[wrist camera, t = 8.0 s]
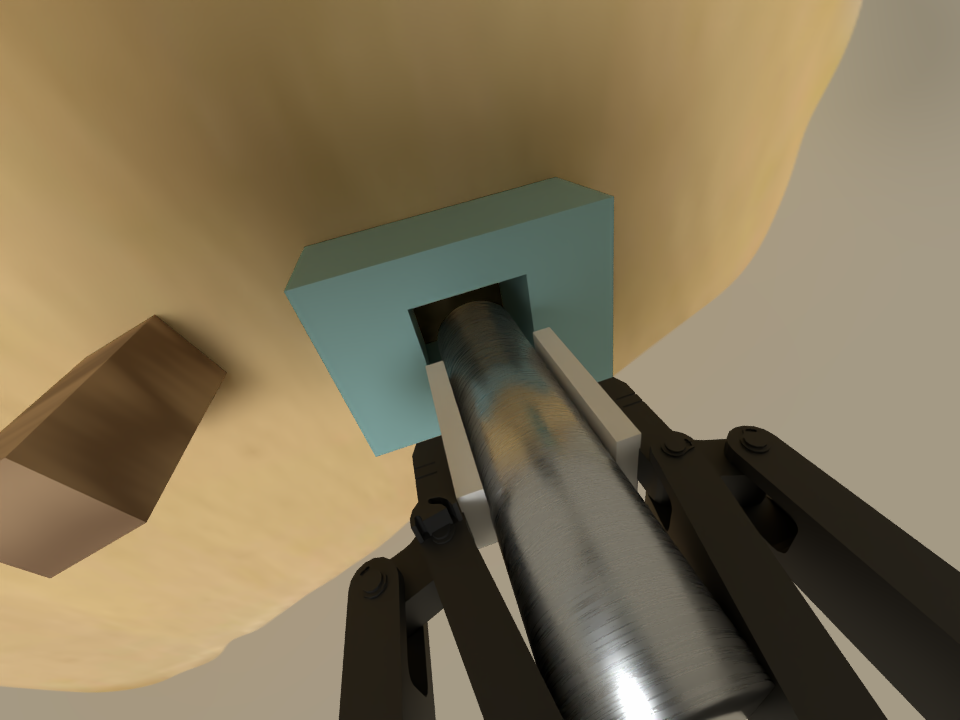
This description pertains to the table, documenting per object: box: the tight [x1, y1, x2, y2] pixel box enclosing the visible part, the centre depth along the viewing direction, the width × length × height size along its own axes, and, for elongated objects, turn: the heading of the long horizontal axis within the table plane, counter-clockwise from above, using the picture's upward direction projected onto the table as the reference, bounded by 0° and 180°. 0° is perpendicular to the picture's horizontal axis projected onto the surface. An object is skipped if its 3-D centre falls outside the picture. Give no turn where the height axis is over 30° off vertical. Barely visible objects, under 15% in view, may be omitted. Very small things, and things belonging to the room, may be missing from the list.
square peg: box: [0, 315, 226, 578], centre depth 17 cm, size 4×4×10 cm
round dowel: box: [437, 301, 775, 720], centre depth 13 cm, size 4×4×15 cm
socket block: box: [284, 177, 614, 457], centre depth 21 cm, size 10×14×6 cm
